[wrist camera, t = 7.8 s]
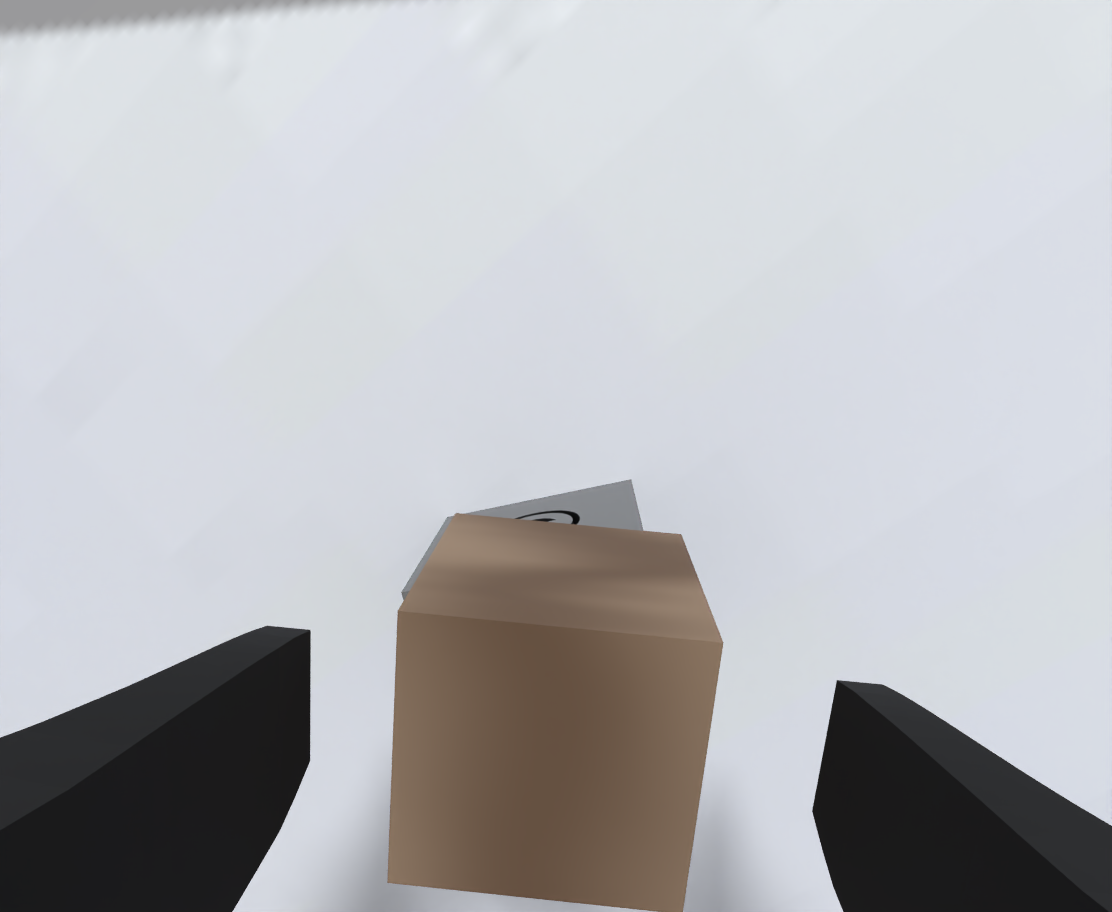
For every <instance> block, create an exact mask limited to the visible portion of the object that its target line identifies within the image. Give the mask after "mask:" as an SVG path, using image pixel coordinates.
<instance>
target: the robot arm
mask: <svg viewBox="0 0 1112 912" xmlns="http://www.w3.org/2000/svg"><path fill="white" fill-rule="evenodd" d="M309 762H310V630H305V629H294V628H284V627H273V626H265V627H262V628H259V629H256V630H253V631H250V632H248V633H245V634H243V635H241V636H238V637H236V638H233V639H231V640H229V641H227V642H224V643H222V644H220V645H218V646H215V647H213V648H211V649H209V650H207V651H204V652H202V653H200V654H198V655H196V656H194V657H191V658H189V659H187V660H185V661H183V662H180V663H178V664H176V665H174V666H172V667H169V668H167V669H165V670H163V671H161V672H158V673H156V674H154V675H152V676H150V677H147V678H145V679H143V680H141V681H139V682H137V683H134V684H132V685H130V686H127V687H125V688H123V689H120V690H118V691H115V692H113V693H111V694H108V695H106V696H104V697H101V698H99V699H96V700H94V701H92V702H89V703H87V704H84V705H82V706H80V707H77V708H75V709H72V710H70V711H68V712H65V713H63V714H60V715H58V716H56V717H53V718H51V719H48V720H46V721H44V722H41V723H38V724H36V725H33V726H31V727H28V728H25V729H23V730H20V731H17V732H15V733H12V734H9V735H6V736H4V737H1V738H0V912H232V911H233V910H234V908H235V906H236V905H237V903H238V901H239V900H240V898H241V896H242V895H243V893H244V891H245V889H246V888H247V886H248V884H249V883H250V881H251V879H252V878H253V876H254V874H255V872H256V871H257V869H258V867H259V866H260V864H261V862H262V861H263V859H264V857H265V855H266V854H267V852H268V850H269V849H270V847H271V845H272V843H273V842H274V840H275V838H276V836H277V835H278V833H279V831H280V829H281V827H282V825H283V823H284V820H285V818H286V816H287V814H288V811H289V809H290V807H291V805H292V803H293V800H294V798H295V796H296V793H297V791H298V789H299V786H300V784H301V781H302V779H303V777H304V774H305V772H306V769H307V767H308V765H309ZM812 812H813V816H814V819H815V823H816V827H817V831H818V835H819V838H820V842H821V846H822V850H823V853H824V857H825V860H826V863H827V867H828V870H829V874H830V877H831V880H832V884H833V887H834V889H835V892H836V894H837V897H838V899H839V902H840V904H841V907H842V909H843V912H1112V826H1111V825H1109V824H1107V823H1106V822H1104V821H1102V820H1101V819H1099V818H1097V817H1096V816H1094V815H1092V814H1091V813H1089V812H1087V811H1085V810H1084V809H1082V808H1080V807H1079V806H1077V805H1075V804H1074V803H1072V802H1070V801H1069V800H1067V799H1065V798H1064V797H1062V796H1061V795H1059V794H1057V793H1056V792H1054V791H1053V790H1051V789H1049V788H1048V787H1046V786H1044V785H1043V784H1041V783H1040V782H1038V781H1036V780H1035V779H1033V778H1032V777H1030V776H1029V775H1027V774H1025V773H1024V772H1022V771H1021V770H1019V769H1018V768H1016V767H1014V766H1013V765H1011V764H1010V763H1008V762H1007V761H1005V760H1004V759H1002V758H1000V757H999V756H997V755H996V754H994V753H993V752H991V751H990V750H988V749H987V748H985V747H984V746H982V745H980V744H979V743H977V742H976V741H974V740H973V739H971V738H970V737H968V736H967V735H965V734H964V733H962V732H961V731H959V730H957V729H956V728H954V727H953V726H951V725H950V724H948V723H947V722H945V721H944V720H942V719H941V718H939V717H937V716H936V715H934V714H933V713H931V712H930V711H928V710H926V709H925V708H923V707H922V706H920V705H918V704H917V703H915V702H914V701H912V700H910V699H908V698H907V697H905V696H903V695H902V694H900V693H898V692H896V691H894V690H892V689H890V688H888V687H886V686H884V685H881V684H870V683H860V682H849V681H839V680H837V683H836V688H835V693H834V699H833V704H832V709H831V715H830V720H829V725H828V731H827V736H826V741H825V746H824V752H823V757H822V762H821V768H820V773H819V778H818V784H817V789H816V794H815V799H814V805H813V810H812Z"/></svg>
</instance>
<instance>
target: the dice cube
mask: <svg viewBox="0 0 1112 912" xmlns="http://www.w3.org/2000/svg"><path fill="white" fill-rule="evenodd" d="M466 514H470V515H481V516H491V517H502V518H512V519H523V520H534V521H544V522H555V523H565V524H576V525H586V526H597V527H608V528H618V529H629V530H639V531H643V527H642V523H641V519H640V515H639V510H638V506H637V502H636V498H635V494H634V490H633V485H632V481H631V480H626V481H621V482H616V483H612V484H607V485H602V486H597V487H592V488H587V489H582V490H578V491H573V492H568V493H563V494H558V495H553V496H548V497H544V498H539V499H534V500H529V501H524V502H519V503H514V504H510V505H505V506H500V507H495V508H490V509H485V510H480V511H476V512H471V513H466ZM453 517H454V516H451V517H447V519H446V520H445V522H444V524H443V525H442V527H441V529H440V530H439V532H438V534H437V535H436V537H435V538H434V540H433V542H432V543H431V545H430V547H429V548H428V550H427V551H426V553H425V555H424V556H423V558H422V560H421V561H420V563H419V565H418V566H417V568H416V569H415V571H414V573H413V574H412V576H411V578H410V579H409V581H408V582H407V584H406V586H405V587H404V589H403V591H402V592H401V593H402V596H403V600H405V598H406V596H407V595H408V593H409V591H410V590H411V588H412V586H413V584H414V583H415V581H416V579H417V578H418V576H419V574H420V573H421V571H422V569H423V568H424V566H425V564H426V563H427V561H428V559H429V557H430V556H431V554H432V552H433V551H434V549H435V547H436V546H437V544H438V542H439V541H440V539H441V537H442V536H443V534H444V532H445V531H446V529H447V527H448V525H449V524H450V522H451V520H452V519H453Z"/></svg>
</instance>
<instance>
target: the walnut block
mask: <svg viewBox="0 0 1112 912" xmlns="http://www.w3.org/2000/svg"><path fill="white" fill-rule="evenodd" d="M722 648H723V641H722V638H721V636H720V633H719V631H718V628H717V625H716V623H715V620H714V618H713V615H712V613H711V610H710V607H709V605H708V602H707V600H706V597H705V595H704V592H703V589H702V587H701V584H700V582H699V579H698V577H697V574H696V571H695V569H694V566H693V564H692V561H691V559H690V556H689V553H688V551H687V548H686V546H685V543H684V541H683V538H682V535H681V534H671V533H661V532H650V531H639V530H629V529H618V528H608V527H597V526H586V525H576V524H565V523H555V522H544V521H534V520H523V519H512V518H502V517H491V516H481V515H470V514H459V513H456V514H455V515H454V517H453V519H452V520H451V522H450V524H449V525H448V527H447V529H446V531H445V532H444V534H443V536H442V537H441V539H440V541H439V542H438V544H437V546H436V547H435V549H434V551H433V552H432V554H431V556H430V557H429V559H428V561H427V563H426V564H425V566H424V568H423V569H422V571H421V573H420V574H419V576H418V578H417V579H416V581H415V583H414V584H413V586H412V588H411V590H410V591H409V593H408V595H407V596H406V598H405V600H404V601H403V603H402V605H401V606H400V608H399V610H398V618H397V645H396V671H395V698H394V724H393V751H392V777H391V804H390V830H389V857H388V883H394V884H403V885H413V886H422V887H432V888H441V889H450V890H460V891H469V892H479V893H488V894H498V895H507V896H516V897H526V898H535V899H545V900H554V901H564V902H573V903H582V904H592V905H601V906H611V907H620V908H630V909H639V910H648V911H658V912H683V906H684V900H685V893H686V886H687V880H688V873H689V866H690V860H691V853H692V847H693V840H694V833H695V827H696V820H697V813H698V807H699V800H700V794H701V787H702V780H703V774H704V767H705V760H706V754H707V747H708V740H709V734H710V727H711V721H712V714H713V707H714V701H715V694H716V687H717V681H718V674H719V668H720V661H721V654H722Z"/></svg>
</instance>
